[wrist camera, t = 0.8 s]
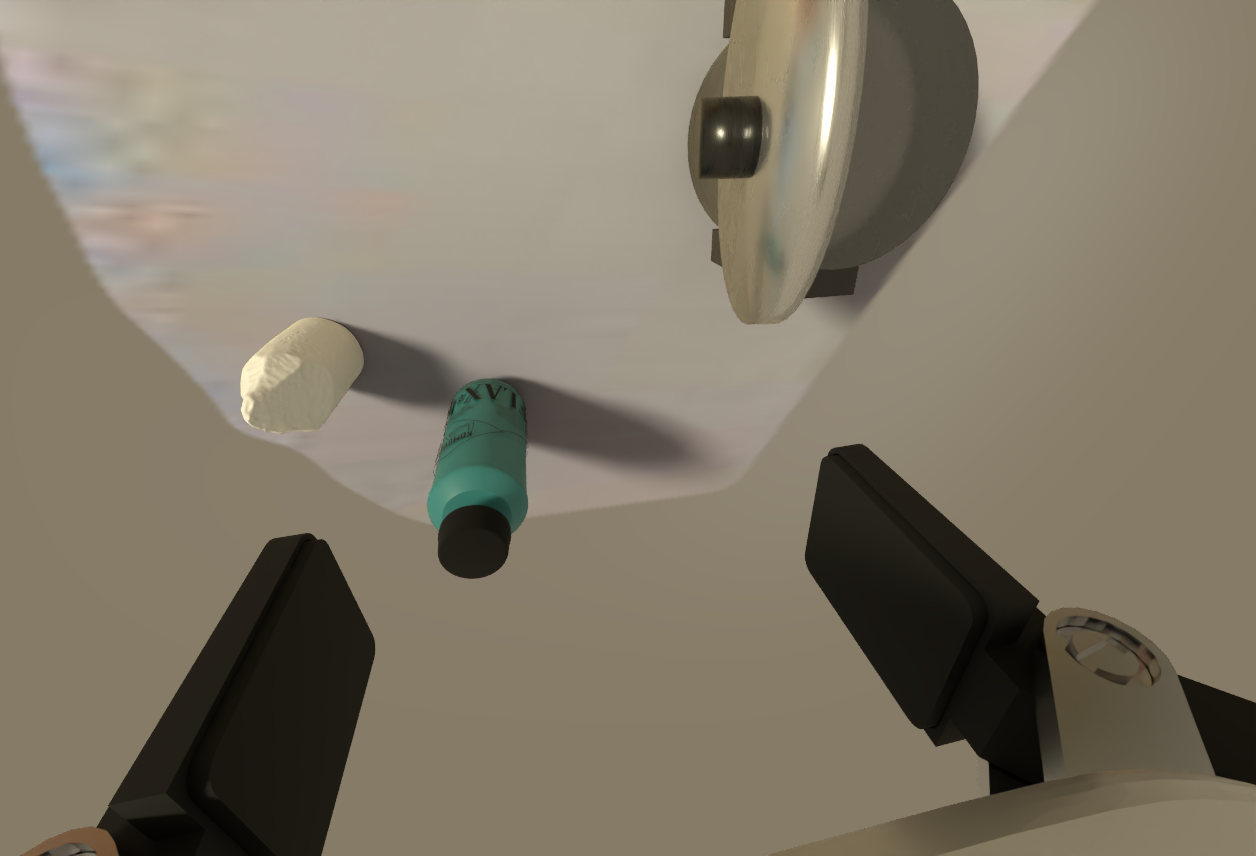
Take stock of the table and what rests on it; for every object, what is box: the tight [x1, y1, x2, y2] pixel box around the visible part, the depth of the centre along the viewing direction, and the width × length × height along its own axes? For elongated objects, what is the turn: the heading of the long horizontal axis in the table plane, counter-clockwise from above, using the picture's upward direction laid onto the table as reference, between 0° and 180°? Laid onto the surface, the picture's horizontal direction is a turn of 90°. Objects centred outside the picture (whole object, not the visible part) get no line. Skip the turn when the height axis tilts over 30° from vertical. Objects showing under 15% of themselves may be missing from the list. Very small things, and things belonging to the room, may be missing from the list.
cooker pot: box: [688, 0, 978, 298], centre depth 35 cm, size 20×17×11 cm
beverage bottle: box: [427, 379, 528, 579], centre depth 37 cm, size 6×7×20 cm
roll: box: [241, 318, 364, 434], centre depth 35 cm, size 6×12×6 cm
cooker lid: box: [694, 0, 868, 325], centre depth 23 cm, size 16×16×4 cm
